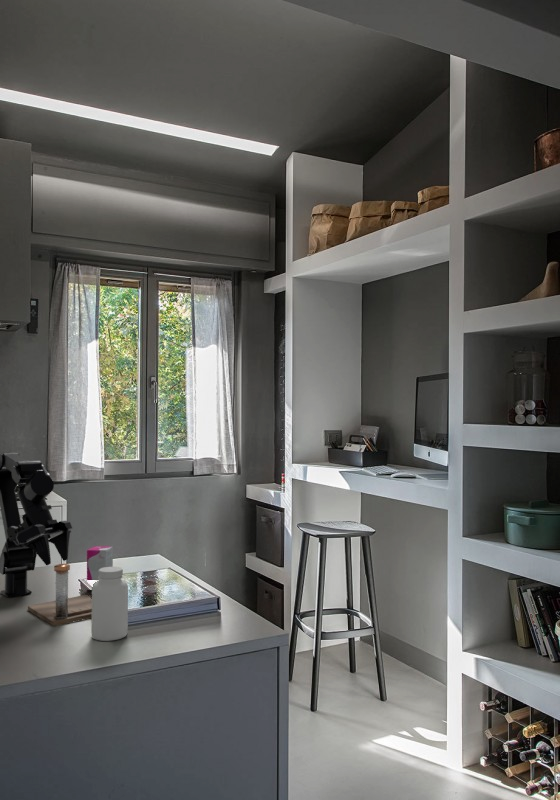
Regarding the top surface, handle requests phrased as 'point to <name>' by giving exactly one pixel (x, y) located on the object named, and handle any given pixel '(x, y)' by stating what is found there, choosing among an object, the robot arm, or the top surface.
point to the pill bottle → (109, 605)
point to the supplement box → (98, 560)
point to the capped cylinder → (61, 590)
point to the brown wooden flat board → (76, 610)
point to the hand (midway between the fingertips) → (57, 562)
